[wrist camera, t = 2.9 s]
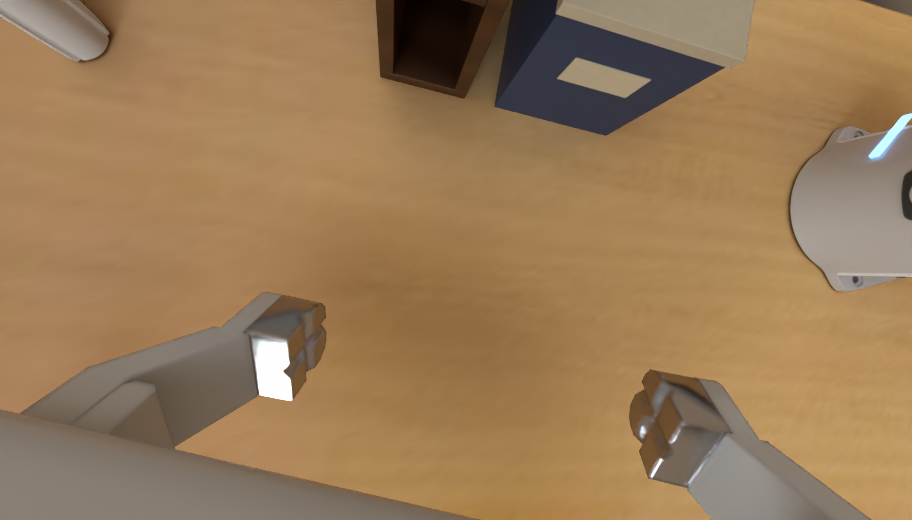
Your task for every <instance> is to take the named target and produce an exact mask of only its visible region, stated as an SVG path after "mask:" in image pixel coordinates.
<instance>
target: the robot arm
mask: <svg viewBox="0 0 912 520" xmlns="http://www.w3.org/2000/svg"><path fill="white" fill-rule="evenodd" d="M911 118H912V113H911V114H907V115H904V116H902V117H901V118H900V119H899V120H898V121H897V123H896V124H895V125H894V126H893V127H892V129H891V130H886V131H882V132H877V133H871V132H868V131H865V130H862V129H859V128H856V127H853V126H846V127H842V128H838V129H836V130H835V131H834V132H833V133H832V135H831V136H830V138H829V140H828V142H827V144H826V146H825V147H824V148H823V149H822V150H821V151H820V152H818V153H817V154H816V155H814V156H813V157H812V158H811V159H809V160H808V162H807V163H806V164H805V165H804V166H803V168H802V169H801V171H800V172H799V174H798V176H797V178H796V181H795V184H794V187H793V190H792V195H791V203H790V214H791V222H792V227H793V231H794V234H795V237H796V239H797V241H798V243H799V245H800V247H801V249H802V250H803V251H804V253H805V254H806V255H807V256H808V258H809V259H810V260H811V261H813V262H814V263H815V264H816V265H817V266H819V267H820V268H821V269H822V270H823V271H824V273H825V275H826V277H827V279H828V281H829V283H830V284H831V286H832V287H833V288H834V289H835V290H836V291H838V292H850V291H854V290H858V289H862V288H866V287H870V286H873V285H877V284H881V283H885V282H889V281H893V280H896V279H900V278H904V277H912V125H909V126H905V125H906V124H907V122H908V121H909V120H910V119H911ZM904 126H905V127H904ZM325 318H326V312H325V306H324V305H323V304H322V303H318V302H314V301H309V300H305V299H300V298H296V297H291V296H287V295H281V294H277V293H272V292H263V293H261V294H259V295H258V296H257V297H256V298H255V299H254V300H252V301H251V302H250V303H249V304H248V305H247V306H245V307H244V308H243V309H242V310H241V311H239V312H238V313H237V314H236V315H235V316H234V317H232V318H231V319H230V320H229V321H228V322H226V323H225V324H224V325H223V326H222V327H221V328H219V327H211V328H208V329H205V330H202V331H199V332H196V333H193V334H190V335H186V336H183V337H180V338H177V339H174V340H171V341H168V342H165V343H162V344H159V345H156V346H153V347H149V348H146V349H143V350H140V351H137V352H134V353H131V354H128V355H125V356H122V357H119V358H116V359H112V360H109V361H106V362H103V363H100V364H97V365H94V366H91V367H88V368H86V369H84V370H83V371H81V372H80V373H79V374H77V375H76V376H74V377H73V378H71V379H70V380H68V381H67V382H65V383H64V384H62V385H61V386H59V387H58V388H56V389H55V390H53V391H52V392H51V393H49V394H48V395H46V396H45V397H43V398H42V399H40V400H39V401H37V402H36V403H34V404H33V405H31V406H30V407H28V408H27V409H25V410H24V411H23V412H21V413H20V414H18V413H14V412H10V411H5V410H1V409H0V520H479V519H475V518H471V517H466V516H462V515H458V514H453V513H449V512H445V511H440V510H436V509H432V508H427V507H423V506H419V505H414V504H410V503H406V502H401V501H397V500H393V499H388V498H384V497H380V496H375V495H371V494H367V493H362V492H358V491H353V490H349V489H345V488H340V487H336V486H332V485H327V484H323V483H319V482H314V481H310V480H306V479H301V478H297V477H293V476H288V475H284V474H279V473H275V472H271V471H266V470H262V469H258V468H253V467H249V466H245V465H240V464H236V463H232V462H227V461H223V460H219V459H214V458H210V457H205V456H201V455H197V454H192V453H188V452H184V451H179V450H176V449H175V446H177V445H178V444H180V443H182V442H183V441H185V440H187V439H188V438H190V437H191V436H193V435H195V434H196V433H198V432H200V431H201V430H203V429H205V428H206V427H208V426H210V425H211V424H213V423H215V422H216V421H218V420H219V419H221V418H223V417H224V416H226V415H228V414H229V413H231V412H233V411H234V410H236V409H238V408H239V407H241V406H242V405H244V404H246V403H247V402H249V401H251V400H252V399H254V398H256V397H257V394H258V395H263V396H268V397H274V398H279V399H284V400H290V401H293V399H294V398H295V396H296V395H297V393H298V392H299V390H300V389H301V388H302V386H303V385H304V383H305V382H306V372H307V371H309V370H311V369H313V368H315V367H316V366H317V364H318V362H319V361H320V359H321V357H322V354H323V352H324V349H325V344H326V331H325V329H324V328H323V326H322V325H321V323H322V322H323V321H324V319H325ZM642 384H643V386H644V390H643V391H641V392H639V393H637V394H635V396H634V398H633V400H632V402H631V405H630V413H629V419H630V426H631V429H632V432H633V435H634V436H635V437H636V438H637V439H638V440H639V441H640V442H641V443H642V444H643V445H642V446H641V448H640V450H639V453H640V456H641V459H642V462H643V464H644V467H645V470H646V473H647V476H648V478H649V479H653V480H657V481H661V482H665V483H669V484H673V485H678V486H682V487H686V488H688V489H687V491H688V492H689V493H690V494H691V495H692V496H693V498H694V499H695V500H696V501H697V502H698V504H699V505H700V506H701V507H702V508H703V510H704V511H705V512H706V513H707V514H708V516H709V517H710V518H711V519H712V520H871V519H870V518H868V517H867V516H866V515H864V514H863V513H862V512H860V511H859V510H858V509H856V508H855V507H854V506H852V505H851V504H850V503H849V502H847V501H846V500H845V499H843V498H842V497H841V496H839V495H838V494H837V493H835V492H834V491H833V490H831V489H830V488H829V487H827V486H826V485H825V484H823V483H822V482H821V481H819V480H818V479H817V478H815V477H814V476H813V475H811V474H810V473H809V472H807V471H806V470H805V469H803V468H802V467H801V466H799V465H798V464H797V463H795V462H794V461H793V460H791V459H790V458H789V457H787V456H786V455H785V454H783V453H782V452H781V451H779V450H778V449H777V448H775V447H774V446H773V445H771V444H770V443H769V442H767V441H763V440H760V439H759V438H758V437H757V435H756V434H755V432H754V431H753V429H752V428H751V426H750V425H749V423H748V422H747V421H746V419H745V418H744V416H743V415H742V413H741V412H740V410H739V409H738V408H737V406H736V405H735V403H734V402H733V400H732V399H731V397H730V396H729V394H728V393H727V392H726V390H725V389H724V387H723V386H722V385H721V384H720V383H718V382H717V381H713V380H707V379H701V378H696V377H693V378H692V377H687V376H681V375H676V374H671V373H666V372H661V371H656V370H651V369H650V370H649V371H648V372H647V373H646V374H645V376H644V378H643V380H642Z"/></svg>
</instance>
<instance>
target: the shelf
mask: <svg viewBox="0 0 912 520" xmlns="http://www.w3.org/2000/svg"><path fill="white" fill-rule="evenodd" d="M508 2H509V0H376V13H377V30H378V46H379V63H380V77H383V78H387V79H391V80H395V81H399V82H402V83H406V84H410V85H414V86H418V87H422V88H426V89H429V90H433V91H437V92H441V93H445V94H449V95H452V96H456V97H460V98H465V96H466V94H467V92H468V90H469V87H470V85H471V83H472V81H473V79H474V77H475V74H476V72H477V70H478V68H479V66H480V63H481V61H482V59H483V57H484V55H485V53H486V50H487V48H488V46H489V44H490V42H491V39H492V37H493V35H494V33H495V31H496V29H497V26H498V24H499V22H500V20H501V18H502V15H503V13H504V11H505V9H506V7H507V4H508Z"/></svg>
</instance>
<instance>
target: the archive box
mask: <svg viewBox="0 0 912 520" xmlns="http://www.w3.org/2000/svg"><path fill="white" fill-rule="evenodd" d="M754 2H755V0H513V5H512V10H511V16H510V22H509V27H508V33H507V39H506V44H505V50H504V56H503V61H502V67H501V73H500V78H499V84H498V89H497V95H496V101H495V107H498V108H502V109H506V110H510V111H513V112H517V113H521V114H525V115H529V116H533V117H537V118H540V119H544V120H548V121H552V122H556V123H560V124H563V125H567V126H571V127H575V128H579V129H583V130H587V131H590V132H594V133H598V134H602V135H608V134H610V133H611V132H613V131H615V130H617V129H618V128H620V127H622V126H624V125H625V124H627V123H629V122H631V121H632V120H634V119H636V118H638V117H639V116H641V115H643V114H645V113H646V112H648V111H650V110H652V109H653V108H655V107H657V106H659V105H660V104H662V103H664V102H666V101H667V100H669V99H671V98H672V97H674V96H676V95H678V94H679V93H681V92H683V91H685V90H686V89H688V88H690V87H692V86H693V85H695V84H697V83H699V82H700V81H702V80H704V79H706V78H707V77H709V76H711V75H713V74H714V73H716V72H718V71H720V70H721V69H723V68H725V67H726V68H729V69H732V68H734V67H736V66H737V65H739V64H741V63H743V62H744V61H745V58H746V52H747V46H748V39H749V33H750V27H751V20H752V14H753V8H754Z"/></svg>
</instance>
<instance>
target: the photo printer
mask: <svg viewBox="0 0 912 520" xmlns="http://www.w3.org/2000/svg"><path fill="white" fill-rule="evenodd" d="M0 17H2V18H4V19H5V20H7V21H8V22H10V23H12V24H13V25H15V26H17V27H18V28H20V29H21V30H23V31H25V32H26V33H28V34H30V35H31V36H33V37H35V38H36V39H38V40H39V41H41V42H43V43H44V44H46V45H48V46H49V47H51V48H53V49H54V50H56V51H58V52H59V53H61V54H63V55H64V56H66V57H68V58H70V59H72V60H74V61H77V62H78V61H79V60H81V59H82V60H91V59H94V58H96V57H98V56H99V55H101V54H102V53H103V52H104V50H105V49H106V48H107V45H108V41H109V38H108V35H109V31H108V30H107V29H106V27H105V26H104V25H103V24H102V22H101V21H100V20H99V19H98V18H97V17H96V16H95V15H94V14H93V13H92V12H91V11H90V10H89V9H88V8H87V7H86V6H85V5H84V4H83V3H82V2H81V1H79V0H0Z"/></svg>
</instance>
